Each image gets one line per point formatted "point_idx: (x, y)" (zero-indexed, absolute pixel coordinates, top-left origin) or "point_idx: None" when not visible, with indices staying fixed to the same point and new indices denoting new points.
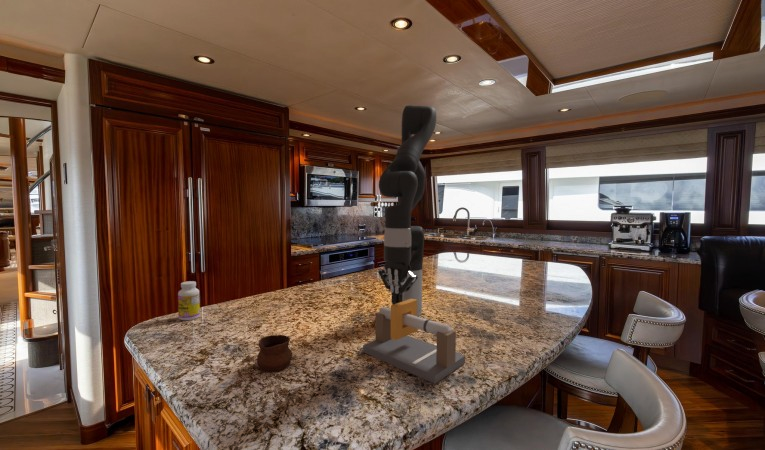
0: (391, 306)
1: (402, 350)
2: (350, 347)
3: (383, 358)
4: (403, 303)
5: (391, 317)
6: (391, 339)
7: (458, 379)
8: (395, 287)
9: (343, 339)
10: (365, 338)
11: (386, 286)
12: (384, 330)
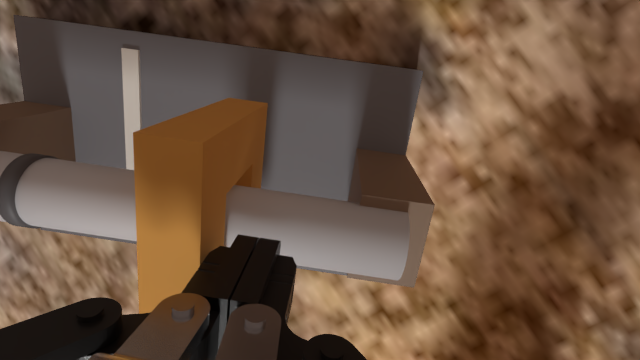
0: (197, 138)
1: None
2: (495, 73)
3: (290, 52)
4: (156, 249)
5: (228, 121)
6: (345, 199)
7: (9, 101)
8: (181, 346)
9: (577, 123)
10: (486, 190)
11: (340, 355)
12: (356, 173)
